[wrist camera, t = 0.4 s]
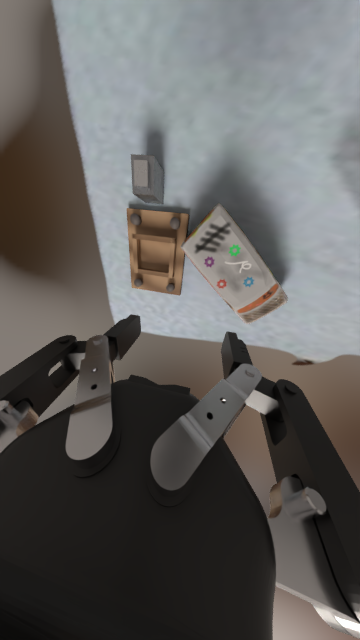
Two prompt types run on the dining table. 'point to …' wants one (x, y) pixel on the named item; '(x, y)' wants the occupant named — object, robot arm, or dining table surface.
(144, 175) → the block
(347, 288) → the dining table surface
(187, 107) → the dining table surface
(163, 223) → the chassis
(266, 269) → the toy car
